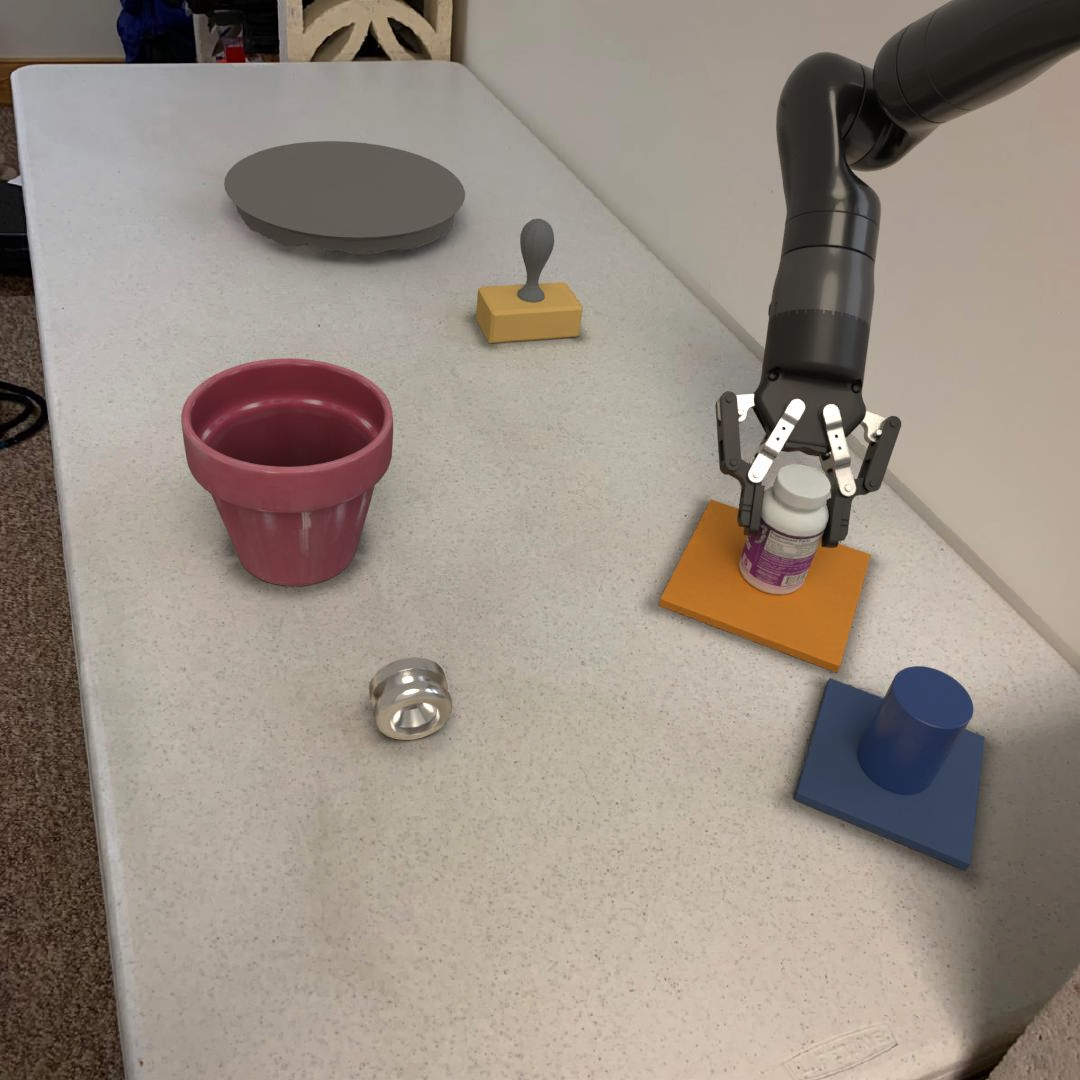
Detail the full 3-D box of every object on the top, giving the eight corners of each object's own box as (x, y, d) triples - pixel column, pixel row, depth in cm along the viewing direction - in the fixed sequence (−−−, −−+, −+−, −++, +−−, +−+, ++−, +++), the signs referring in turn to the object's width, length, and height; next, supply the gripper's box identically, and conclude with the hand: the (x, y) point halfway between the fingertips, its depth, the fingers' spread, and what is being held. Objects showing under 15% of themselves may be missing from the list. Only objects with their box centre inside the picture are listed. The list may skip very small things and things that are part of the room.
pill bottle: (739, 545, 81) (769, 450, 75) (803, 559, 81) (839, 465, 75) (735, 589, 77) (767, 493, 71) (803, 604, 77) (841, 509, 71)
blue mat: (980, 743, 69) (984, 736, 69) (965, 871, 62) (970, 864, 61) (826, 684, 72) (829, 677, 71) (793, 800, 64) (796, 792, 64)
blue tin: (936, 750, 67) (977, 683, 63) (927, 807, 64) (970, 740, 59) (863, 722, 69) (898, 654, 64) (851, 776, 65) (887, 708, 60)
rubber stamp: (561, 311, 110) (576, 206, 102) (579, 338, 106) (595, 231, 98) (474, 317, 107) (482, 209, 99) (489, 345, 103) (499, 235, 95)
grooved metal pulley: (443, 702, 67) (446, 652, 64) (452, 737, 65) (456, 688, 62) (368, 713, 66) (368, 663, 62) (375, 749, 64) (375, 699, 60)
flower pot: (382, 485, 84) (383, 352, 75) (401, 603, 74) (404, 465, 65) (204, 493, 80) (184, 356, 72) (198, 618, 70) (174, 476, 62)
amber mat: (868, 561, 83) (871, 554, 82) (836, 673, 73) (840, 666, 72) (708, 505, 86) (710, 498, 86) (658, 605, 76) (660, 598, 76)
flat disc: (229, 276, 107) (224, 237, 104) (226, 173, 127) (223, 138, 124) (482, 273, 114) (485, 237, 111) (443, 176, 134) (444, 143, 131)
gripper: (735, 292, 72) (703, 523, 71) (932, 321, 72) (903, 552, 71) (716, 321, 79) (687, 531, 78) (894, 347, 79) (868, 557, 78)
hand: (790, 540), depth 74 cm, fingers closed on pill bottle, 5 cm apart
